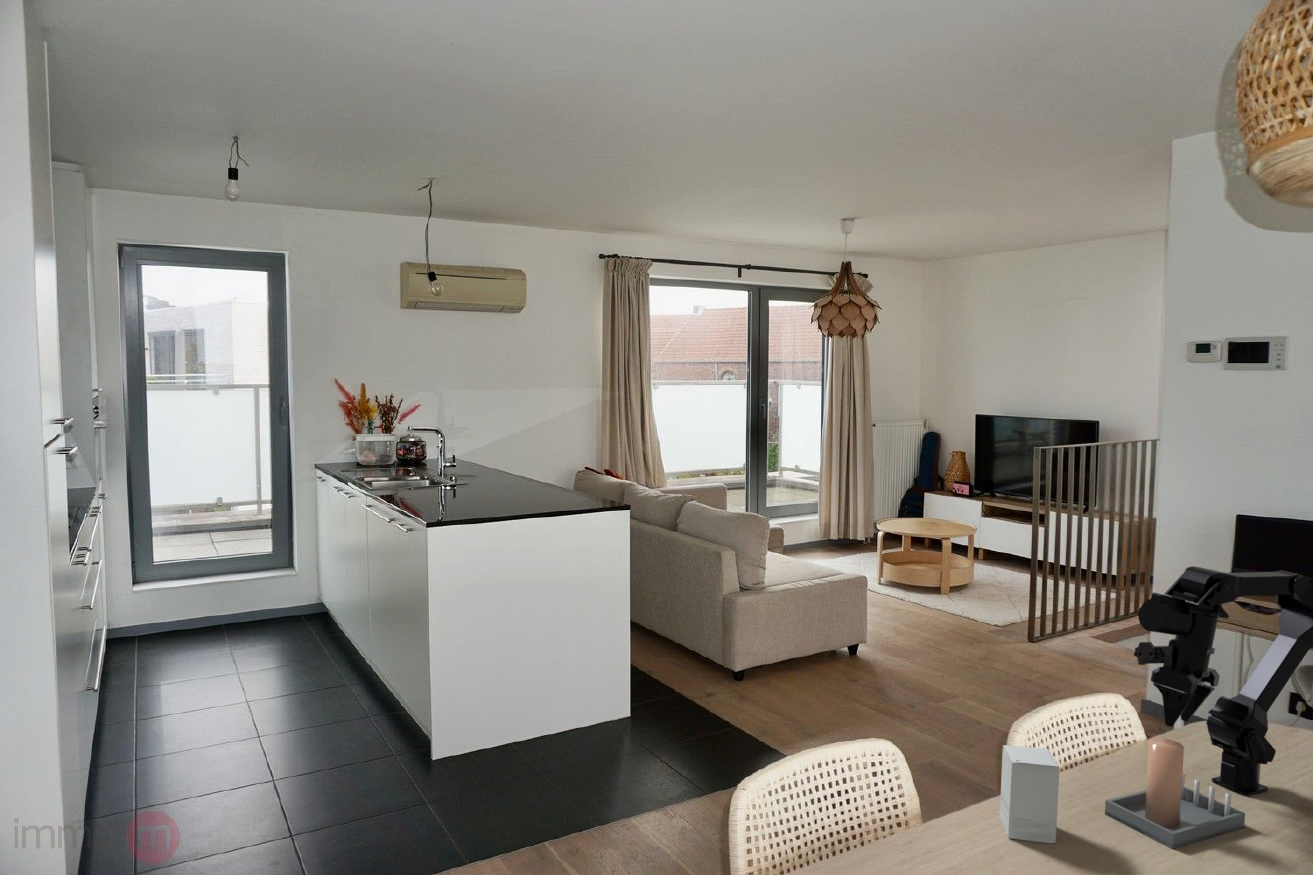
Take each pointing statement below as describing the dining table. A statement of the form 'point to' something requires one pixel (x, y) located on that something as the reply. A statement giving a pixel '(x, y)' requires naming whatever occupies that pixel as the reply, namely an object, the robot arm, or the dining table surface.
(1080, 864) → the dining table surface
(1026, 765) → the supplement box
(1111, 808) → the drying tray
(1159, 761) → the peach pillar candle
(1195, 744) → the dining table surface
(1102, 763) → the dining table surface
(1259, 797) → the dining table surface
